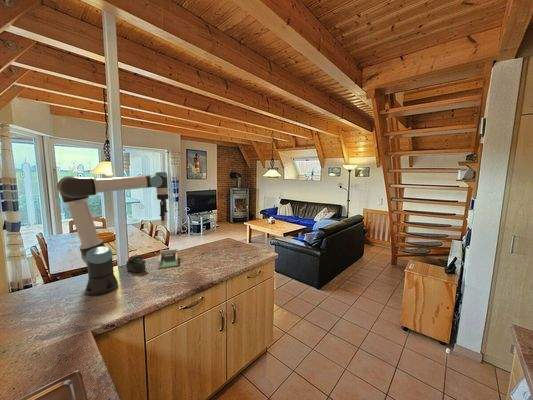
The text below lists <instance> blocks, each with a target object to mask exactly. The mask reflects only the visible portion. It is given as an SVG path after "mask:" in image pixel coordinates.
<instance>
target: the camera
mask: <svg viewBox="0 0 533 400" xmlns="http://www.w3.org/2000/svg"><path fill="white" fill-rule="evenodd" d="M146 263H147V262H146V260H144V259H143V256H142V255H132V256H131V258H128V260H127V261H126V269H127V271H130V272H132V273H136V274H141V273H144V272H145V271H146Z"/></svg>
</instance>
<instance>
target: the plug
mask: <svg viewBox="0 0 533 400" xmlns="http://www.w3.org/2000/svg"><path fill="white" fill-rule="evenodd" d="M163 256H164V261H168V260H174V251H167V252H164V254H163Z"/></svg>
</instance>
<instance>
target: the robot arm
mask: <svg viewBox="0 0 533 400" xmlns="http://www.w3.org/2000/svg"><path fill="white" fill-rule="evenodd" d="M168 179H169V178H168V173H167V172H166V171H155V174H138V175H137V176H123V177H108V178H94V177H93V176H92V177H80V176H75V175H68V176H64V177H62V178H60V179H59V181H58V183H57V185H56V186H57V187H56V189H57V190H58V192H59V194H60V196H61V199H62V202H63V204H66V205H67V206H68V209H69V212H70V215H71V218H72V221H73V223H74V227H75V229H76V232H77V235H78V238H79V241H80V245H79V251H80V254H81V259H82V262H84V263H85V265H86V267H87V275H88V278H87V283H86V287H85V295H87V296H89V297H97V296H102V295H106V294H110V293H112V292H113V291H115V290H117V289H118V287H119V281H118V280H117V278H116V275H115V274H114V263H113V251H112V249H111V248H110V247H108V246H105V244H104V240H103V239H100V238H99V235H98V231H97V228H96V225H95V222H94V219H93V216H92V213H91V209H90V207H89V204H88V200H89V199H90V196H91V197H92V196H96V195H97V194H99V193H100V194H101V193H108V192H109V193H110V192H118V191H119V192H120V191H127V190H129V191H130V190H135V189H136V190H137V189H148V188H156V199H157V200H159V201H160V202H159V205H160V206H159V207H160V208H159V209H160V210H159V212H160V213H159V217H160V224H161V226H166V224H167V223H166V222H168V212H169V211H168V209H167V201H166V200H169V199H170V198H169V190H170V188H169V184H168V183H169V180H168Z"/></svg>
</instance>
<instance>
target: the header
mask: <svg viewBox="0 0 533 400" xmlns="http://www.w3.org/2000/svg"><path fill="white" fill-rule="evenodd" d="M167 251H174V260H168V261H164V256H163V254H164V252H167ZM174 267H175V268H176V267H179V255H178V248H173V249H165V250H164V249H163V250H159V257H158V264H157V269H158V270H159V269H166V268H168V269H169V268H174Z"/></svg>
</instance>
